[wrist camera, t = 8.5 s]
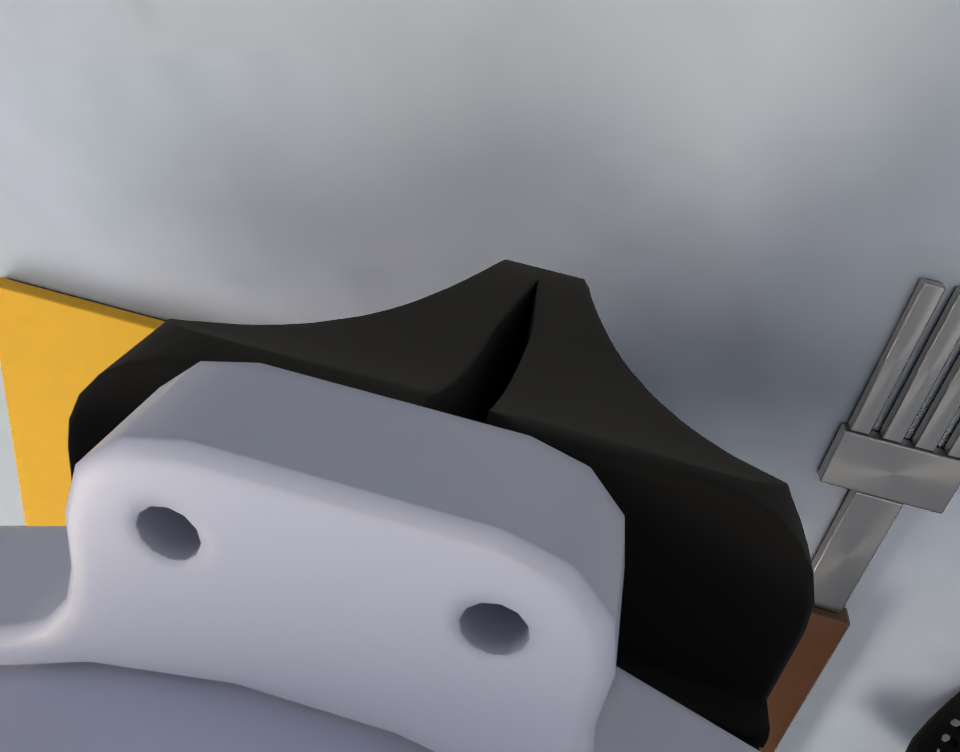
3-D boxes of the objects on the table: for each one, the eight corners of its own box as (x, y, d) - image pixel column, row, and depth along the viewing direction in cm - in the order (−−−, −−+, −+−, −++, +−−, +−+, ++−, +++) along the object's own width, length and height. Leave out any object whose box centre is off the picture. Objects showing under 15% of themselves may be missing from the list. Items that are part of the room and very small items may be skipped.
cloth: (266, 666, 22) (259, 679, 22) (48, 599, 23) (37, 611, 22) (284, 352, 17) (276, 362, 17) (0, 276, 18) (-15, 284, 17)
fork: (729, 845, 22) (730, 864, 21) (644, 819, 22) (643, 837, 22) (1056, 310, 13) (1069, 323, 13) (914, 275, 14) (922, 288, 13)
